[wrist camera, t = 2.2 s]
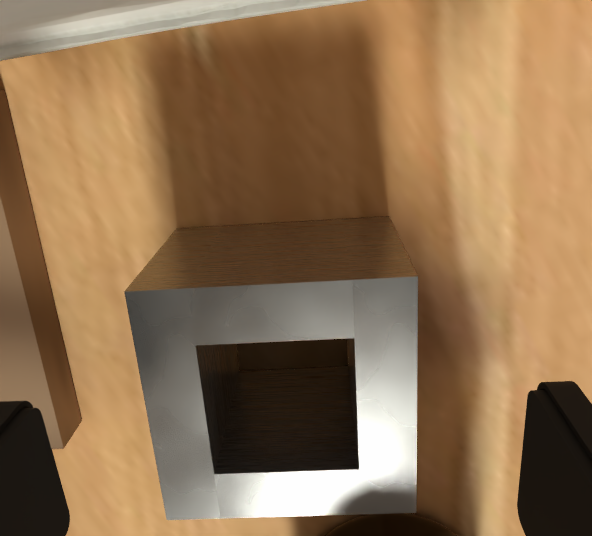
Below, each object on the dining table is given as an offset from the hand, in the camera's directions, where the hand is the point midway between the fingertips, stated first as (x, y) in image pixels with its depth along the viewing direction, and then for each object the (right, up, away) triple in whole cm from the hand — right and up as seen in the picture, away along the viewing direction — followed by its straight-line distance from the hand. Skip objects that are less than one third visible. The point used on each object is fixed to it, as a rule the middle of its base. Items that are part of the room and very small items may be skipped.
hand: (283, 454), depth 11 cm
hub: (0, +2, +7) cm, 7 cm away
